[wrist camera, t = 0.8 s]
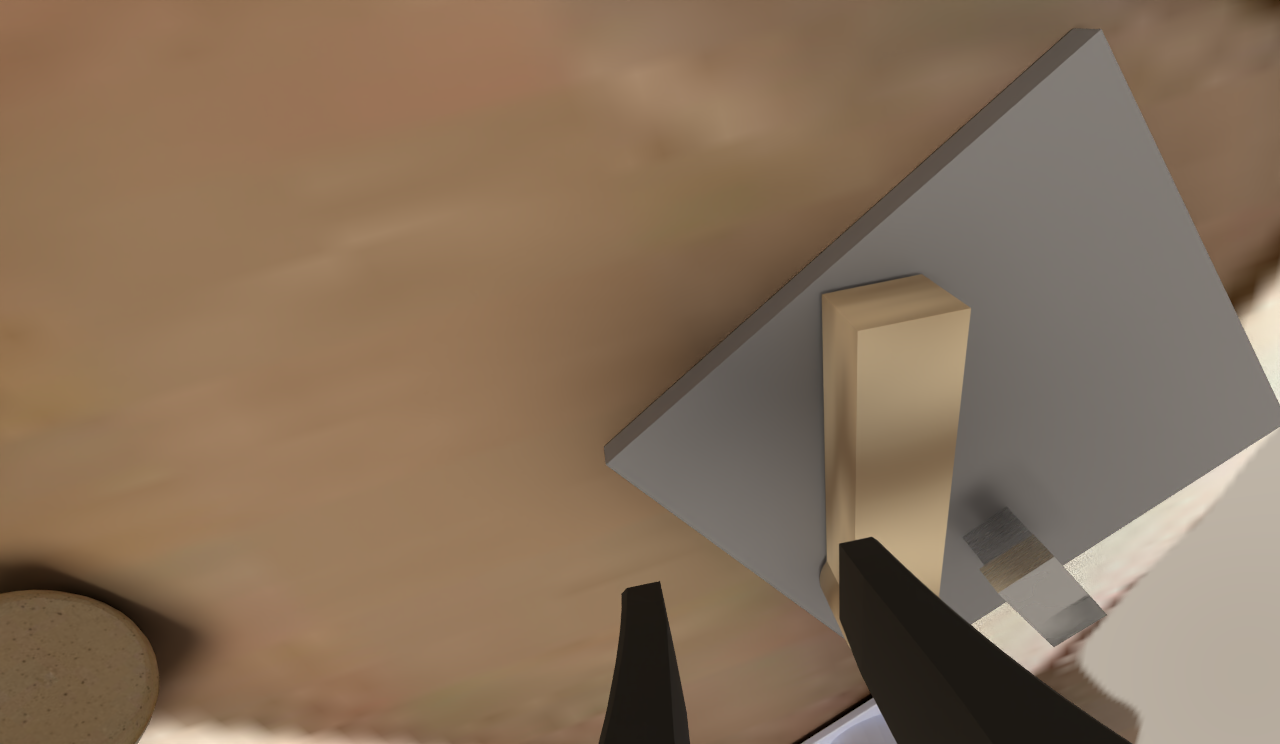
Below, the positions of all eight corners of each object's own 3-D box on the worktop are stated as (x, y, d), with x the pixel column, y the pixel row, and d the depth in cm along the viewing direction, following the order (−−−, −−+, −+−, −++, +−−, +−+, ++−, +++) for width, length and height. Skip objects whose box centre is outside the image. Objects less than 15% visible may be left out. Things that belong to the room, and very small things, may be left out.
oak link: (907, 593, 25) (959, 676, 22) (820, 611, 25) (859, 697, 22) (931, 272, 18) (1011, 325, 15) (811, 296, 18) (866, 354, 15)
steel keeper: (1025, 526, 25) (1106, 615, 21) (981, 556, 25) (1053, 646, 22) (974, 471, 23) (1054, 556, 19) (928, 504, 23) (997, 593, 20)
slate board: (1261, 407, 24) (1287, 421, 24) (883, 654, 29) (892, 674, 28) (1073, 28, 17) (1101, 29, 16) (603, 446, 22) (605, 464, 21)
